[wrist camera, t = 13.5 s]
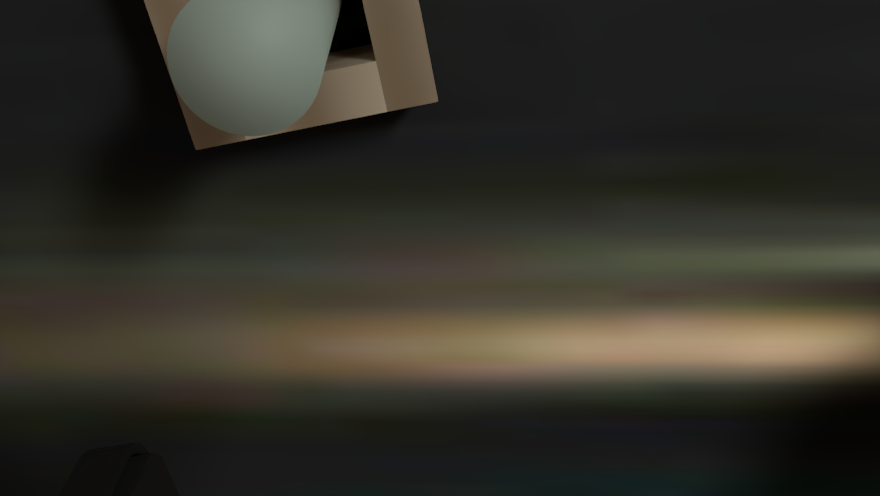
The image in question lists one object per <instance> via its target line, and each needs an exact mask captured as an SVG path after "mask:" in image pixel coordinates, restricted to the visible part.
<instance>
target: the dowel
mask: <svg viewBox="0 0 880 496" xmlns="http://www.w3.org/2000/svg"><path fill="white" fill-rule="evenodd" d="M342 1H343V0H190V1H189V2H188V3H187V4H186V5H185V6H184V7H183V8H182V10H181V11H180V12H179V14H178V15H177V17H176V19H175V20H174V23H173V25H172V27H171V30H170V33H169V37H168V43H167V63H168V69H169V73H170V76H171V79H172V82H173V84H174V86H175V89H176V90H177V92H178V94H179V96H180V97H181V98H182V100H183V101H184V103H185V104H186V105H187V106H188V107H189V108H190V109H191V110H192V112H193V113H195V114H196V115H197V116H198V117H199V118H201V119H202V120H203V121H205V122H207V123H208V124H210V125H211V126H213V127H215V128H217V129H220V130H222V131H225V132H228V133H232V134H236V135H243V136H261V135H268V134H271V133H275V132H278V131H280V130H283V129H285V128H287V127H288V126H290V125H292V124H293V123H295V122H296V121H297V120H298V119H300V118H301V117H302V116H303V115H304V114H305V113H306V112H307V110H308V109H309V108H310V106H311V105H312V103H313V101H314V100H315V98H316V96H317V93H318V90H319V88H320V84H321V80H322V77H323V73H324V69H325V65H326V62H327V58H328V54H329V50H330V47H331V43H332V39H333V35H334V32H335V28H336V24H337V20H338V17H339V13H340V9H341V5H342Z"/></svg>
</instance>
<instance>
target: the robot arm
mask: <svg viewBox="0 0 880 496" xmlns="http://www.w3.org/2000/svg"><path fill="white" fill-rule="evenodd" d="M59 496H179V494H178V491H177V489H176V487H175V485H174V482H173V480H172V478H171V475H170V473H169V471H168V469H167V466H166V464H165V462H164V460H163V458H162V457H161V456H160V455H159V454H158V453H148V452H147V450H146V448H145V447H144V446H142V445H141V444H139V443H131V444H125V445H118V446H112V447H106V448H100V449H94V450H89V451H87V452H85V453H84V454H83V455H82V457H81V458H80V459H79V461H78V463H77V464H76V466H75V468H74V470H73V472H72V474H71V475H70V477H69V479H68V481H67V483H66V484H65V486H64V488H63V490H62V492H61V493H60V495H59Z"/></svg>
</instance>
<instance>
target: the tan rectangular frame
mask: <svg viewBox="0 0 880 496" xmlns="http://www.w3.org/2000/svg"><path fill="white" fill-rule="evenodd" d="M189 1H190V0H144V2H145V5H146V8H147V11H148V14H149V17H150V20H151V22H152V25H153V28H154V31H155V34H156V37H157V40H158V43H159V45H160V48H161V51H162V54H163V57H164V60H165V63H166V66H167V69H168V63H167V43H168V37H169V33H170V30H171V27H172V25H173V23H174V20H175V19H176V17H177V15H178V14H179V12H180V11H181V10H182V8H183V7H184V6H185V5H186V4H187V3H188V2H189ZM362 2H363V6H364V11H365V15H366V19H367V24H368V28H369V33H370V37H371V41H372V44H369V45H365V46H360V47H355V48H350V49H345V50H340V51H335V52H330V53H329V54H328V58H327V62H326V65H325V69H324V73H323V77H322V80H321V84H320V88H319V90H318V93H317V96H316V98H315V100H314V101H313V103H312V105H311V106H310V108H309V109H308V110H307V112H306V113H305V114H304V115H303V116H302V117H301V118H300V119H298V120H297V121H296V122H295V123H293V124H292V125H290V126H288V127H287V128H285V129H283V130H280V131H278V132H275V133H271V134H268V135H261V136H243V135H236V134H232V133H228V132H225V131H222V130H220V129H217V128H215V127H213V126H211V125H210V124H208V123H207V122H205V121H203V120H202V119H201V118H199V117H198V116H197V115H196V114H195V113H193V112H192V110H191V109H190V108H189V107H188V106H187V105H186V104H185V103H184V101H183V100H182V98H181V97H180V96H179V94H178V92H177V90H176V89H175V86H174V84H173V86H174V89H175V92H176V94H177V97H178V100H179V103H180V106H181V109H182V112H183V115H184V117H185V120H186V123H187V126H188V129H189V132H190V135H191V138H192V141H193V143H194V146H195V149H196V150H200V149H205V148H210V147H215V146H220V145H225V144H230V143H235V142H239V141H244V140H249V139H254V138H259V137H264V136H269V135H274V134H279V133H284V132H289V131H294V130H299V129H304V128H309V127H314V126H319V125H324V124H329V123H334V122H339V121H344V120H349V119H354V118H359V117H364V116H369V115H374V114H379V113H384V112H389V111H394V110H399V109H404V108H409V107H414V106H419V105H424V104H429V103H434V102H438V97H437V92H436V87H435V82H434V77H433V72H432V66H431V61H430V56H429V51H428V46H427V41H426V36H425V31H424V25H423V20H422V15H421V10H420V5H419V0H362ZM168 71H169V69H168ZM169 74H170V73H169ZM170 77H171V76H170ZM171 80H172V79H171ZM172 83H173V82H172Z"/></svg>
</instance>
